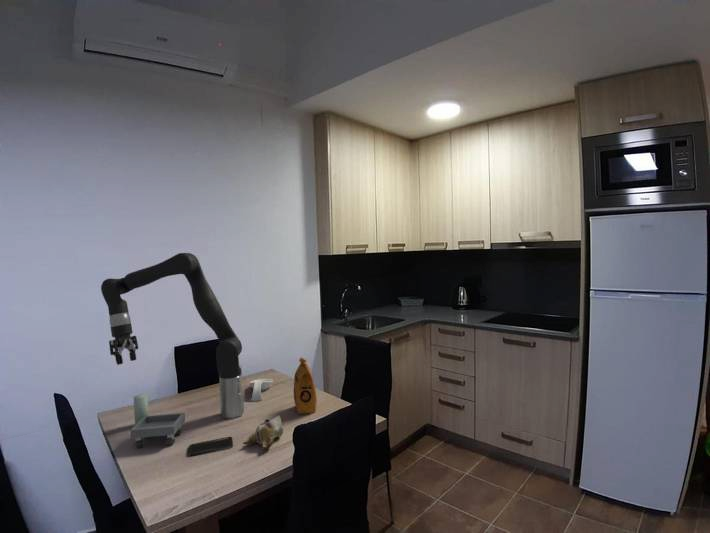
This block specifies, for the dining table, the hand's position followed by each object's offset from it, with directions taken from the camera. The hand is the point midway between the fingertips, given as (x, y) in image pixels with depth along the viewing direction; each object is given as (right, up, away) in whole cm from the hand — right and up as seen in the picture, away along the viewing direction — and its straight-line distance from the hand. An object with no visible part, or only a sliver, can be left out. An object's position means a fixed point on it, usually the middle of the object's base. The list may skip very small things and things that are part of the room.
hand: (127, 362), depth 157 cm
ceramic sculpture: (+64, -25, -20) cm, 71 cm away
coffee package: (+75, -23, +9) cm, 79 cm away
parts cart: (+22, -26, -16) cm, 38 cm away
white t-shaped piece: (+48, -24, +32) cm, 63 cm away
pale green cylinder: (+7, -26, -2) cm, 27 cm away
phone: (+44, -26, -22) cm, 56 cm away
